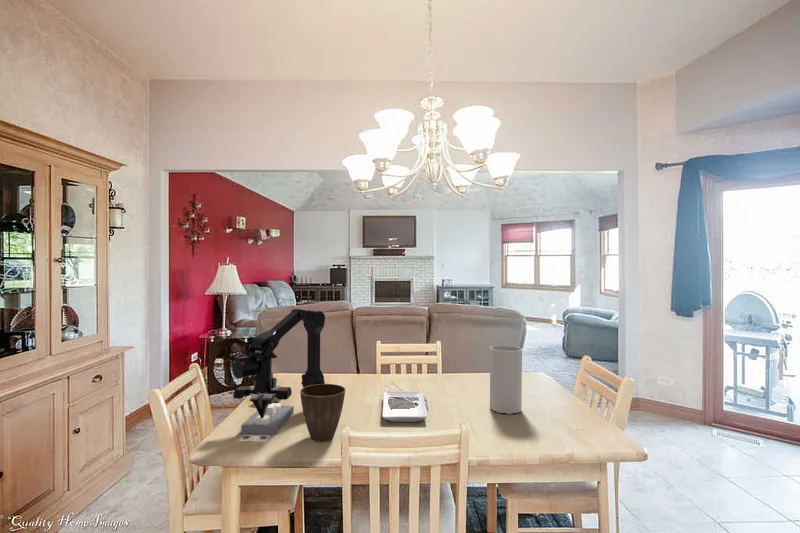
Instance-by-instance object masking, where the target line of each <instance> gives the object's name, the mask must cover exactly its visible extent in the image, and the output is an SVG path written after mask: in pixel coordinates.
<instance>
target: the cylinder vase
mask: <svg viewBox="0 0 800 533" xmlns="http://www.w3.org/2000/svg"><path fill="white" fill-rule="evenodd" d="M489 348H490V350H489V352H490V353H489V355H490V359H489V408H490V410H491V409H492V410H491V411H492V412H495V411H496V412H495V413H497V412H499V413H498V414H501V413H506V414H505V415H514V414H513V413H517V414H519V413H521V411H522V404H523V403H522V390H523V389H522V388H523V387H522V386H523V385H522V384H523V382H522V380H523V348H522V347H519V346H515V345H508V344H507V345H505V344H504V345H503V344H502V345H501V344H498V345H491V346H490V347H489ZM518 412H519V413H518Z"/></svg>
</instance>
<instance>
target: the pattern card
mask: <svg viewBox="0 0 800 533" xmlns="http://www.w3.org/2000/svg"><path fill="white" fill-rule="evenodd" d="M271 436H272V435H254V434H242V436H241V437H240V438H239V439H238V440H237V441H238V442H245V441H253V443H258V442H259V443H267V441H268V440H269V439H270V437H271Z"/></svg>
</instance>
